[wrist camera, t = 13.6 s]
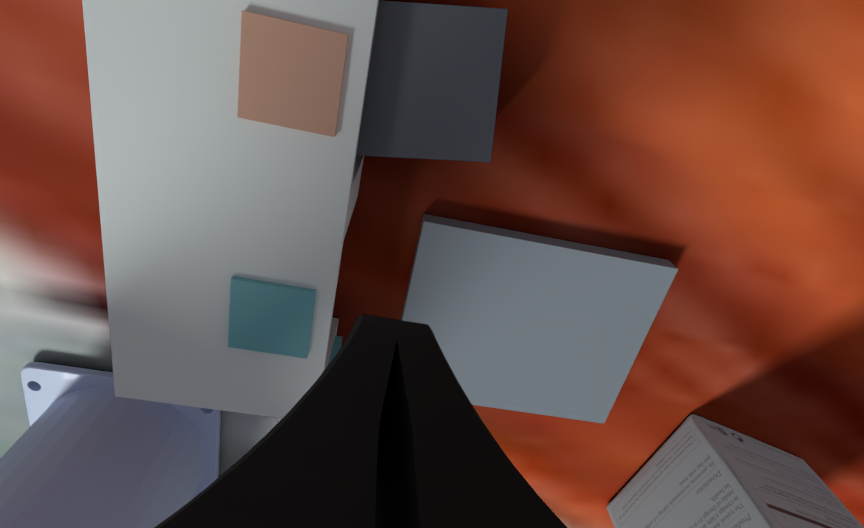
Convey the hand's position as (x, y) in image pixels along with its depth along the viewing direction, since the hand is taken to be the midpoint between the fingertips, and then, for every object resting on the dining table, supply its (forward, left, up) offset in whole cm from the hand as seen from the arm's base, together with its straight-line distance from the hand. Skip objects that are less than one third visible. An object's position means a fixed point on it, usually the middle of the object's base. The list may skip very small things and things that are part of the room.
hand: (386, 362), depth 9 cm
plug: (+4, +2, -10) cm, 11 cm away
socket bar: (0, +5, -10) cm, 11 cm away
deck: (-5, -6, -10) cm, 12 cm away
